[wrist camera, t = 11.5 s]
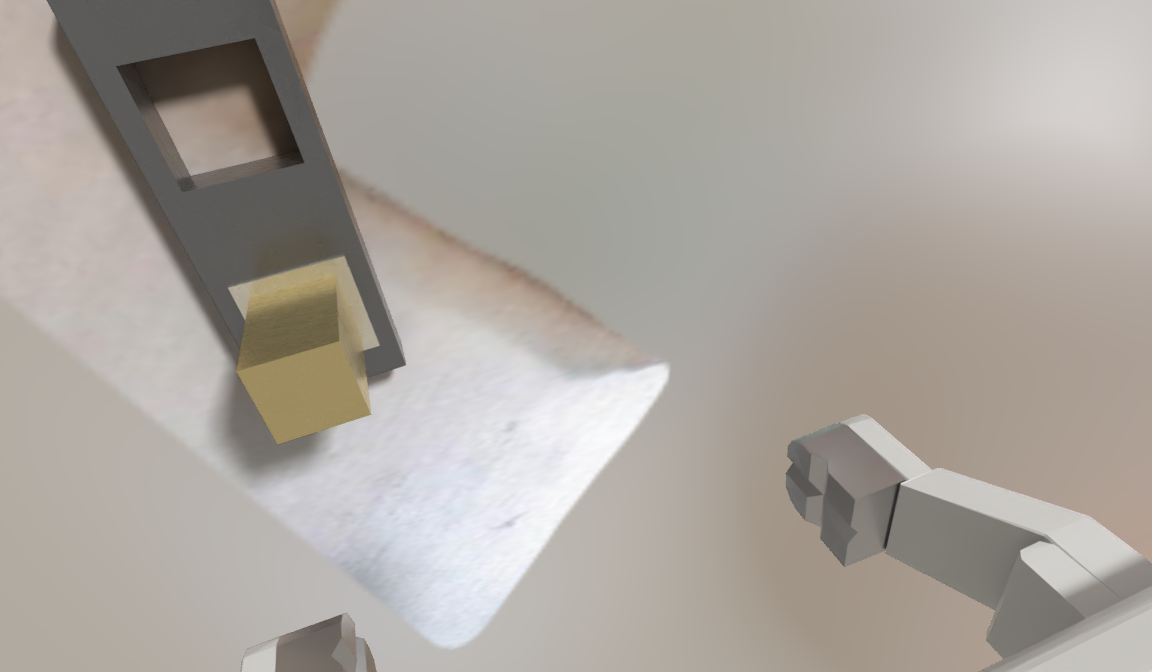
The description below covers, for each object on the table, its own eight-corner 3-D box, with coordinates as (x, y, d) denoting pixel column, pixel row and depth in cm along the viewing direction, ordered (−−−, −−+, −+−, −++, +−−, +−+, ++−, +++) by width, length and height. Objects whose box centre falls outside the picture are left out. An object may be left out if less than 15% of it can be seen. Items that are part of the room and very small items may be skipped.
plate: (60, -17, 27) (37, -12, 25) (255, -51, 28) (250, -50, 26) (274, 382, 39) (271, 409, 37) (401, 344, 41) (406, 366, 39)
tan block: (249, 298, 34) (236, 371, 28) (335, 274, 34) (339, 341, 29) (283, 365, 36) (277, 444, 31) (362, 341, 37) (371, 414, 31)
